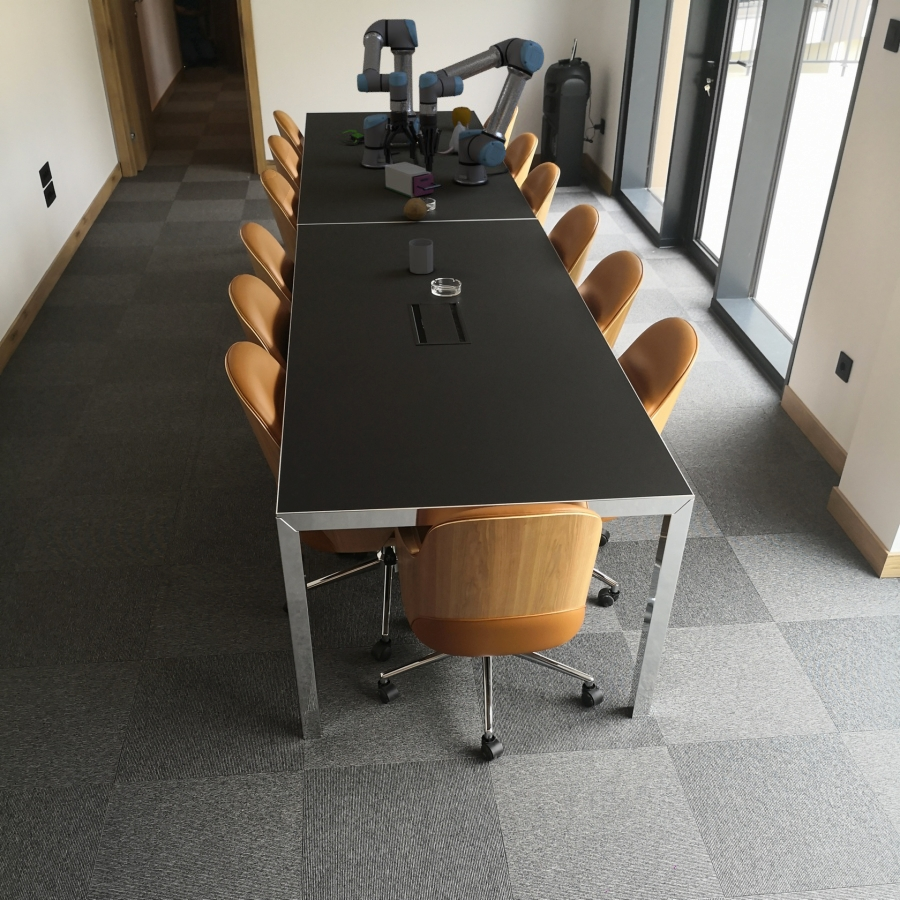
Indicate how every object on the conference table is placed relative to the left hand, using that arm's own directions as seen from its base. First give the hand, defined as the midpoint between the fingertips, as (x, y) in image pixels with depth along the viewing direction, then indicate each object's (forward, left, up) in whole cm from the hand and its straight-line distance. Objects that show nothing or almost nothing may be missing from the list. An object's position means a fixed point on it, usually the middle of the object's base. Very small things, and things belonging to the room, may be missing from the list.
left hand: (400, 160), depth 388 cm
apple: (-111, -41, -12) cm, 118 cm away
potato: (+33, +32, -12) cm, 48 cm away
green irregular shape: (-58, -66, -12) cm, 89 cm away
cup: (+78, +68, -12) cm, 104 cm away
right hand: (+6, +20, 0) cm, 21 cm away
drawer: (+3, +11, -11) cm, 16 cm away
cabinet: (+1, +5, -12) cm, 13 cm away
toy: (-62, -14, -12) cm, 65 cm away
